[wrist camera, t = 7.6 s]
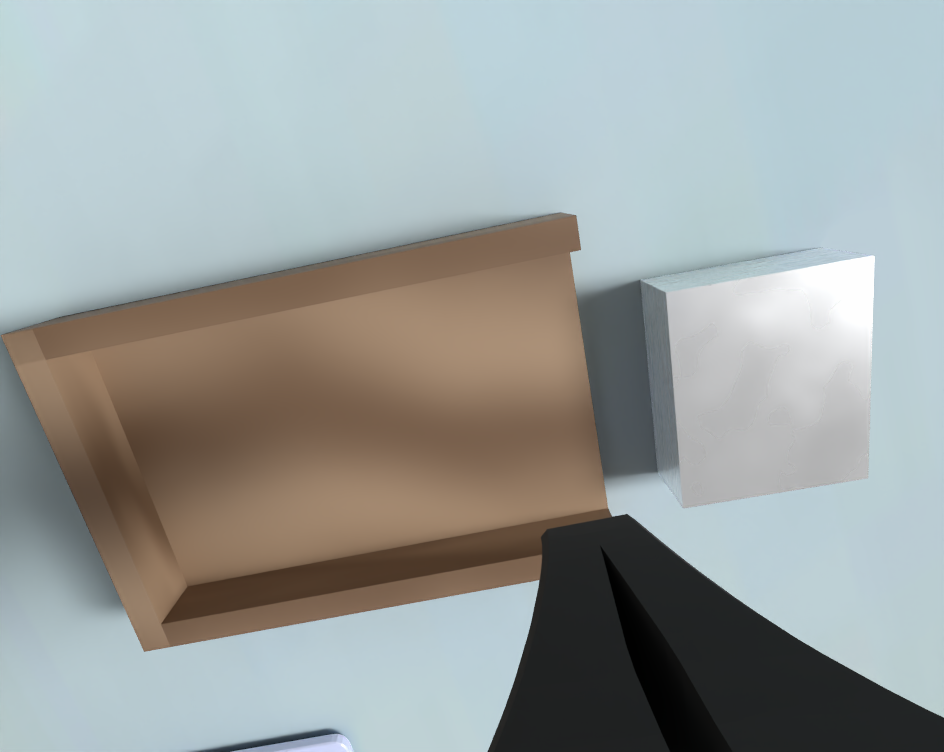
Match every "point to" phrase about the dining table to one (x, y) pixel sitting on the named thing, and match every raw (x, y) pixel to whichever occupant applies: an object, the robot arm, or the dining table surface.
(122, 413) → the wooden box
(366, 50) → the dining table surface
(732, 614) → the robot arm
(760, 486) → the cover plate
